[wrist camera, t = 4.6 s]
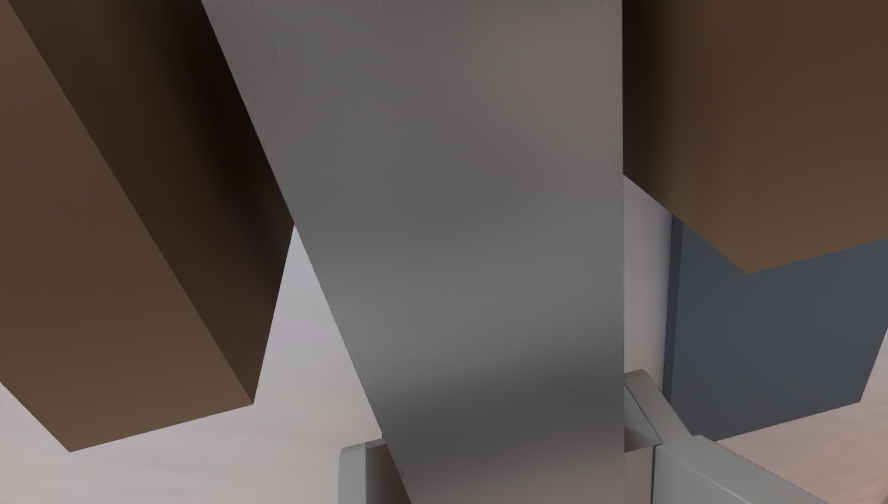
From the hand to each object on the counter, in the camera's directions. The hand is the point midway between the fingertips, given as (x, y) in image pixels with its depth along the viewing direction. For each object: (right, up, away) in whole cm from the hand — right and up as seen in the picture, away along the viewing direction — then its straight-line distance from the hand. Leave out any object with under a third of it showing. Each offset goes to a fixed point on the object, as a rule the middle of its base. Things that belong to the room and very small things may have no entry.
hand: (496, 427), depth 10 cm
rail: (0, 0, +1) cm, 1 cm away
